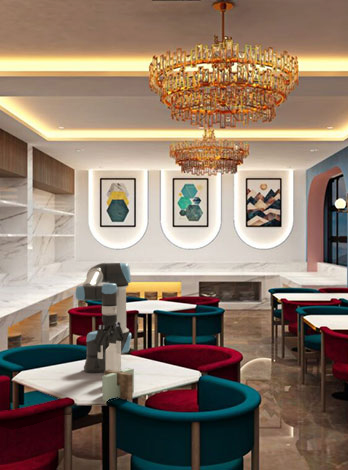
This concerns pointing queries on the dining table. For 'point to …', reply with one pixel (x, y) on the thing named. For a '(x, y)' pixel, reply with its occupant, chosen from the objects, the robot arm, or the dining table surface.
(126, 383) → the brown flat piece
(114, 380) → the slot stand
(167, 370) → the dining table surface
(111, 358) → the milk
